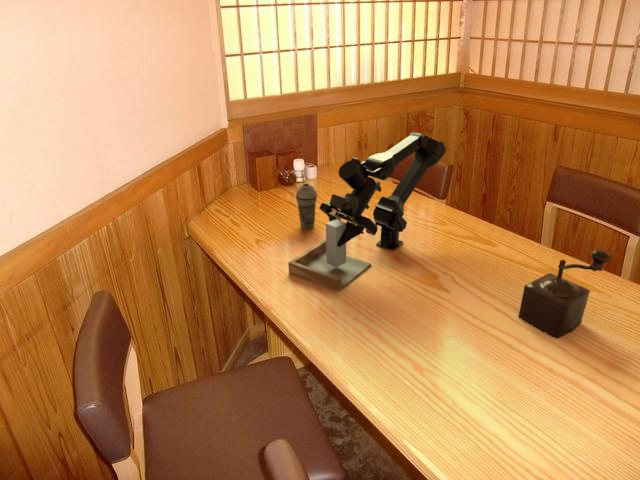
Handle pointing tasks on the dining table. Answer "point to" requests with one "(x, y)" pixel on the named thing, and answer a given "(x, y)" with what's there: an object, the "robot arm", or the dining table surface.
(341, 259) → the slate block
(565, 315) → the manual coffee grinder
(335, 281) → the tray
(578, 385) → the dining table surface
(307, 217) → the beverage cup
